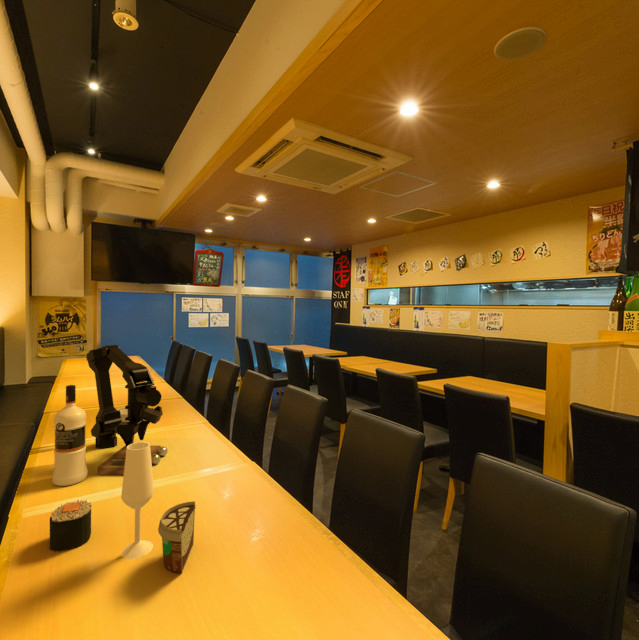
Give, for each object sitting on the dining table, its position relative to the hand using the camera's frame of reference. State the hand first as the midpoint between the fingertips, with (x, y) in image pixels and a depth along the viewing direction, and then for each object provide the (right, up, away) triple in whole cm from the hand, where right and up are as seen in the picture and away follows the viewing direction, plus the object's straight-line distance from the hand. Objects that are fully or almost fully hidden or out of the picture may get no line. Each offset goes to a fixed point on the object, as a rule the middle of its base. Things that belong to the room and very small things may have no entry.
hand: (136, 444), depth 133 cm
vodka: (-12, -6, -17) cm, 22 cm away
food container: (+34, -8, -52) cm, 62 cm away
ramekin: (-21, -3, +37) cm, 43 cm away
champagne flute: (+24, -8, -49) cm, 55 cm away
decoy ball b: (+9, -4, -4) cm, 10 cm away
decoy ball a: (+8, -4, +3) cm, 9 cm away
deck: (0, -5, -3) cm, 6 cm away
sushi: (+8, -7, -46) cm, 47 cm away
